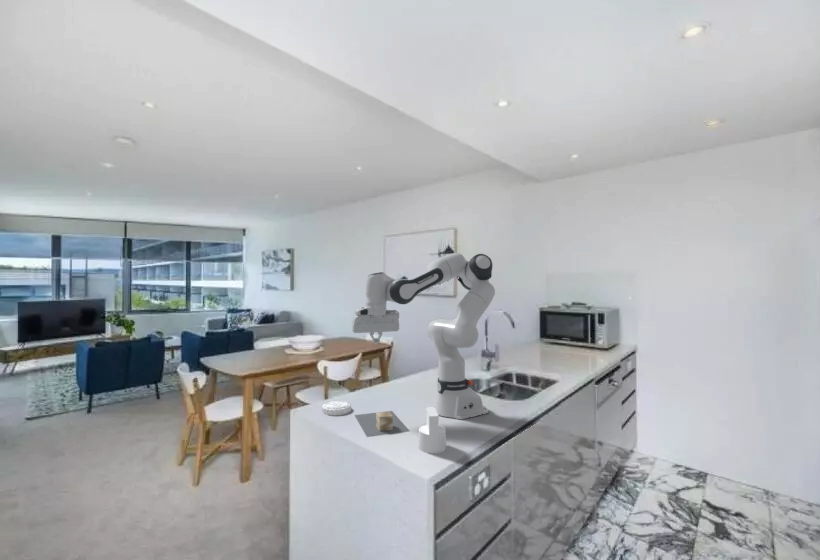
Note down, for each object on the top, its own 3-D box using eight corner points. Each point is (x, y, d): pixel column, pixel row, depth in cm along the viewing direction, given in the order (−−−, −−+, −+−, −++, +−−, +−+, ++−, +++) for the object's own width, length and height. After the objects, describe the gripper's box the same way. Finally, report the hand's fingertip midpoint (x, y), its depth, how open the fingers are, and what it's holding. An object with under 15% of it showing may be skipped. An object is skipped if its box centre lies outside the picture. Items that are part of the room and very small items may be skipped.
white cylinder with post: (417, 442, 132) (417, 407, 132) (443, 441, 132) (443, 406, 132) (420, 453, 123) (420, 416, 123) (447, 453, 123) (447, 416, 123)
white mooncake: (356, 411, 164) (356, 402, 164) (337, 419, 154) (337, 410, 154) (335, 406, 170) (335, 398, 170) (316, 414, 160) (316, 405, 160)
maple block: (392, 415, 141) (392, 429, 141) (388, 411, 146) (388, 424, 146) (379, 417, 140) (379, 431, 140) (376, 412, 144) (376, 426, 144)
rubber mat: (391, 412, 162) (391, 410, 162) (409, 432, 140) (409, 431, 140) (354, 416, 156) (354, 415, 156) (366, 438, 135) (366, 436, 135)
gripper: (397, 309, 170) (396, 340, 170) (351, 310, 163) (351, 342, 163) (401, 310, 164) (401, 342, 164) (354, 311, 157) (353, 345, 157)
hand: (375, 342), depth 163 cm, fingers closed
